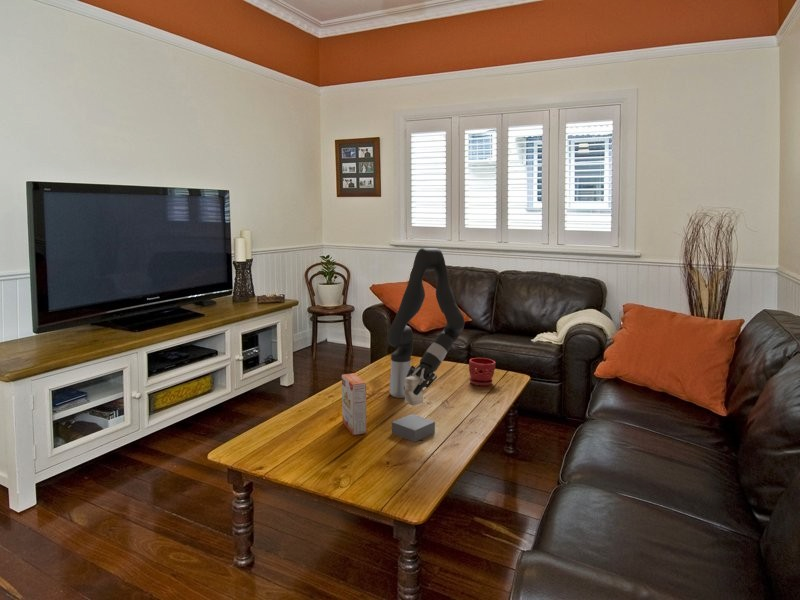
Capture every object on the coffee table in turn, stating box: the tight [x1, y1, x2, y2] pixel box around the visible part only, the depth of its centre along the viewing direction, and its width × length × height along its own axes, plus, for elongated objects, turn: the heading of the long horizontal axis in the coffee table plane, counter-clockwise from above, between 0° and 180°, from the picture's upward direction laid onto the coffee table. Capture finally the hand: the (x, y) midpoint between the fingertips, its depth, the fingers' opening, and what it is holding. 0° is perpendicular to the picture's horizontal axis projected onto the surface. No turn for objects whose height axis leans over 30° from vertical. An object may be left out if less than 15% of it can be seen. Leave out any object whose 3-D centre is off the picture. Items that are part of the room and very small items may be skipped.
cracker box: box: [341, 373, 367, 436], centre depth 217 cm, size 14×6×21 cm, turn 23°
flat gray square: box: [391, 413, 436, 443], centre depth 214 cm, size 12×12×5 cm
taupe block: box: [404, 375, 424, 407], centre depth 212 cm, size 5×5×10 cm
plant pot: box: [468, 357, 496, 387], centre depth 276 cm, size 13×13×12 cm
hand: (410, 392), depth 211 cm, fingers closed on taupe block, 5 cm apart
